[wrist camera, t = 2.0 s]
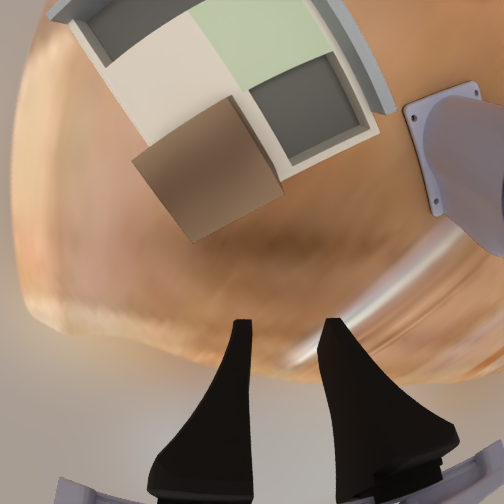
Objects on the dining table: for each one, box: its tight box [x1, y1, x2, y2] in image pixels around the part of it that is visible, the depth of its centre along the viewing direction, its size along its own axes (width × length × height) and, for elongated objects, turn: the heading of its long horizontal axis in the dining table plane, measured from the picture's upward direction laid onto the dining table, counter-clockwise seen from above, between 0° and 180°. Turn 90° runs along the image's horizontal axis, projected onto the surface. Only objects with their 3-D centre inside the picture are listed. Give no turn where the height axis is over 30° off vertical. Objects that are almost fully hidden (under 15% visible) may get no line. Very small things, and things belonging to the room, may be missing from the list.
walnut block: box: [132, 95, 285, 243], centre depth 14 cm, size 5×5×5 cm
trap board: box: [46, 0, 397, 182], centre depth 12 cm, size 18×13×4 cm
